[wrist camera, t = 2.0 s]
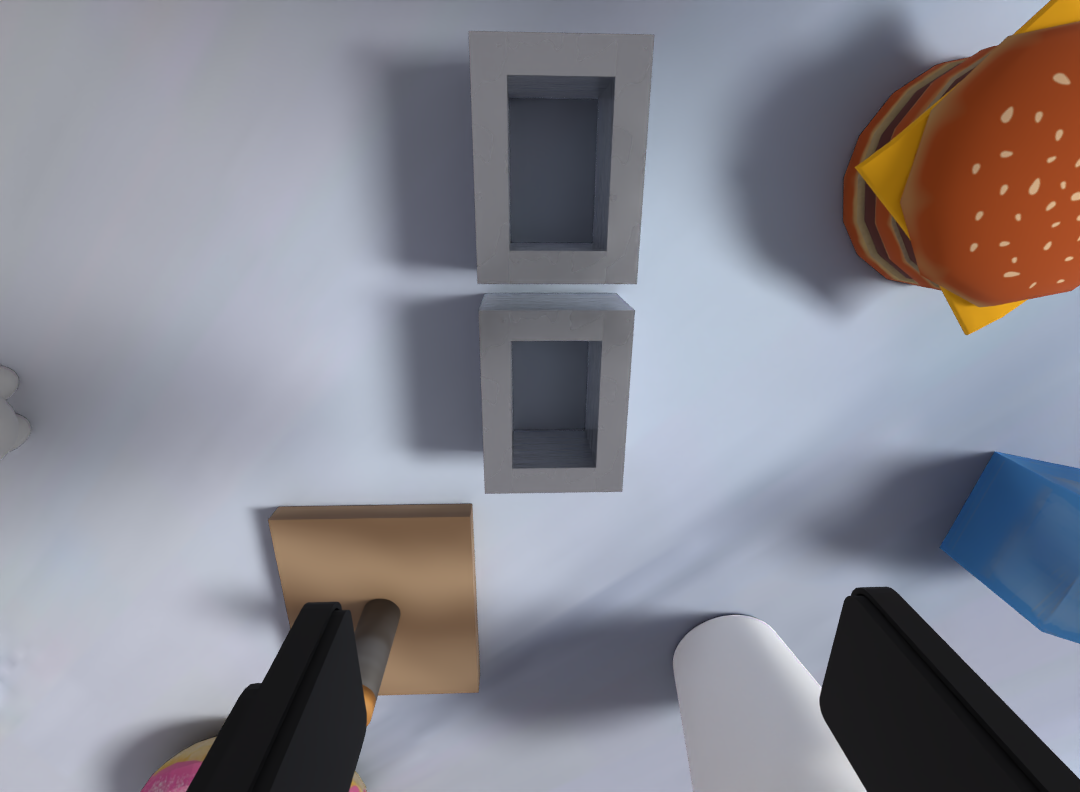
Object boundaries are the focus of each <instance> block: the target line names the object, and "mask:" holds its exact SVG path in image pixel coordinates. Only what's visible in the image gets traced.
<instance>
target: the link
mask: <svg viewBox="0 0 1080 792" xmlns="http://www.w3.org/2000/svg"><path fill="white" fill-rule="evenodd" d="M634 315H635V310H634V309H633V308H632V307H631V306H630V305H629V304H628V303H626V302H625V301H624V300H623V299H622V298H621V297H620V296H619V295H618V294H617V293H485V294H484V297H483V300H482V302H481V305H480V308H479V339H480V367H481V396H482V424H483V453H484V481H485V494H494V493H563V492H622V486H623V472H624V458H625V443H626V429H627V415H628V401H629V386H630V372H631V358H632V344H633V330H634ZM512 341H589V342H588V367H587V392H586V417H585V430H513V376H512Z"/></svg>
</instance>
